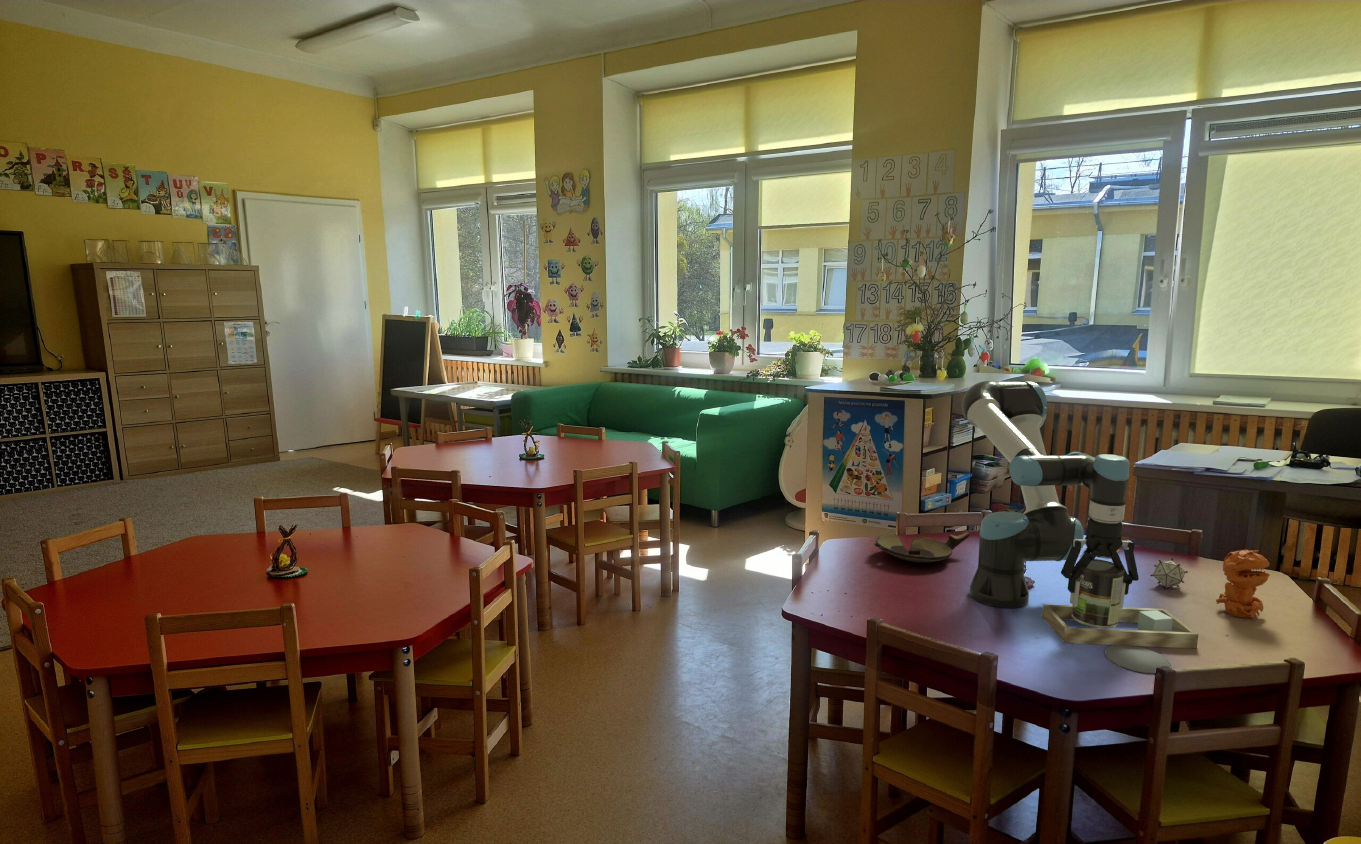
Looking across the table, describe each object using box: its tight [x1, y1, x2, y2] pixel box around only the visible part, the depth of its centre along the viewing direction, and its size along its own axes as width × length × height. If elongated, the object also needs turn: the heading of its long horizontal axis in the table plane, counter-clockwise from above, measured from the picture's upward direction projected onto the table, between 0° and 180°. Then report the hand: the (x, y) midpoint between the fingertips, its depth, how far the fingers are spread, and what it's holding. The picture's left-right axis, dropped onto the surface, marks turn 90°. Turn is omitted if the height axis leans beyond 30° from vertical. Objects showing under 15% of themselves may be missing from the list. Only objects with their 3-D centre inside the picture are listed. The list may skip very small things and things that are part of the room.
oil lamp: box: [874, 532, 971, 564], centre depth 243 cm, size 22×30×8 cm
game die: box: [1149, 557, 1189, 591], centre depth 221 cm, size 9×8×10 cm
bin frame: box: [1041, 604, 1200, 649], centre depth 191 cm, size 30×15×4 cm, turn 85°
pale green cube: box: [1136, 610, 1173, 632], centre depth 191 cm, size 5×5×5 cm
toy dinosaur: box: [1215, 549, 1271, 619], centre depth 202 cm, size 11×11×18 cm
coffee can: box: [1072, 558, 1126, 629], centre depth 191 cm, size 10×10×14 cm
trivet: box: [1104, 645, 1172, 675], centre depth 177 cm, size 13×13×1 cm
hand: (1096, 605), depth 192 cm, fingers closed on coffee can, 10 cm apart
